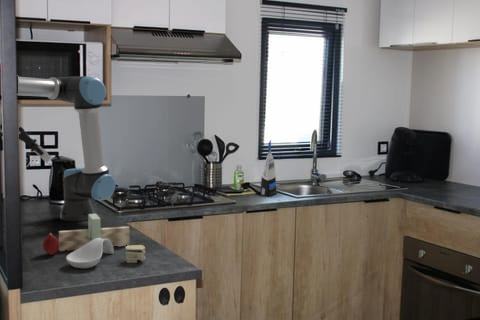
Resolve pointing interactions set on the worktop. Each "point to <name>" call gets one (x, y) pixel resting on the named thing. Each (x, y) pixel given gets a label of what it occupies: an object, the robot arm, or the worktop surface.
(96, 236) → the notched piece
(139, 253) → the pale yellow layered block
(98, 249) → the spoon rest
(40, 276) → the worktop surface
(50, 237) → the onion
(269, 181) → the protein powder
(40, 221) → the worktop surface
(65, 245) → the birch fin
